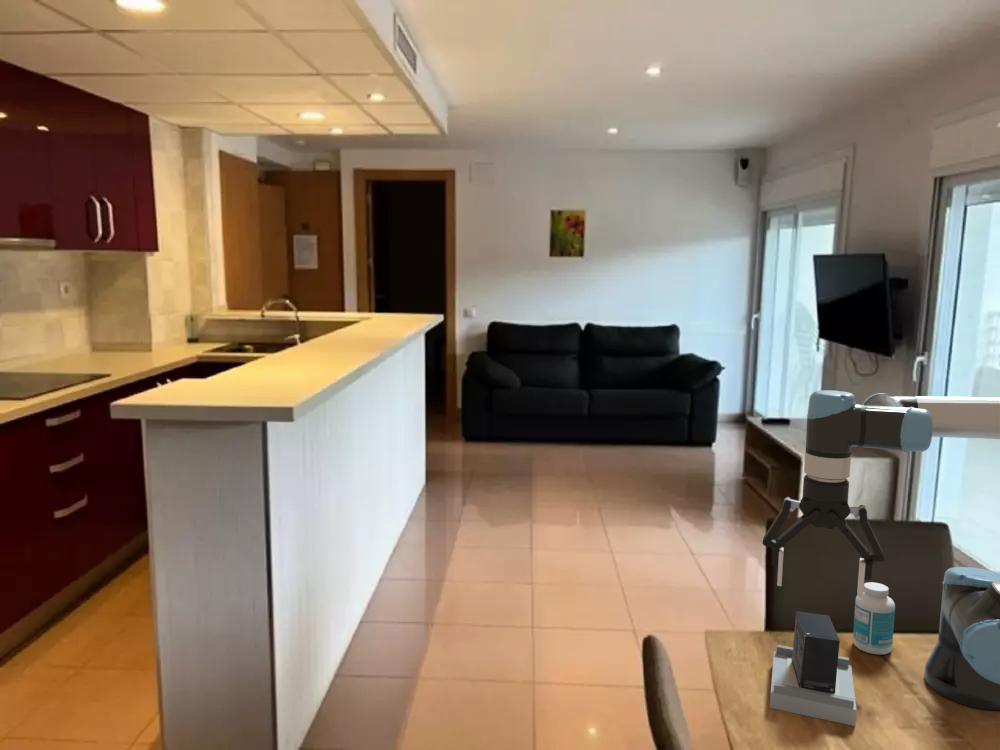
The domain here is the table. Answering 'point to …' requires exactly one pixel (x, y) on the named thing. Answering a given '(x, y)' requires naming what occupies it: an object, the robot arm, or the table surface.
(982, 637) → the robot arm
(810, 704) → the dock
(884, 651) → the pill bottle
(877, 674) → the table surface
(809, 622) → the small box
